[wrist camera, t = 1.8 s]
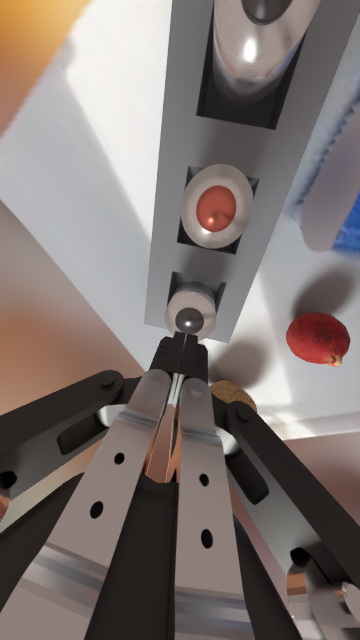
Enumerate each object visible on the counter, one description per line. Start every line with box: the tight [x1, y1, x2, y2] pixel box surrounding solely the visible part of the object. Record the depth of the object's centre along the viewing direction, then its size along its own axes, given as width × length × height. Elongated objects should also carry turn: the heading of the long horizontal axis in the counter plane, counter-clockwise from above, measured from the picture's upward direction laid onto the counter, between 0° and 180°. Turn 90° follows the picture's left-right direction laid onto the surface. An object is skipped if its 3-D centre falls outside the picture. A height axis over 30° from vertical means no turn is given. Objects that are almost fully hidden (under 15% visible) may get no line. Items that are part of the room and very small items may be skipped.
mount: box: [144, 0, 360, 343], centre depth 17 cm, size 10×24×6 cm, turn 170°
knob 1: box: [164, 282, 216, 341], centre depth 16 cm, size 4×4×4 cm
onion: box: [286, 312, 350, 367], centre depth 20 cm, size 6×6×8 cm
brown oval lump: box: [210, 380, 257, 413], centre depth 27 cm, size 9×9×10 cm
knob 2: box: [213, 0, 321, 112], centre depth 8 cm, size 4×4×4 cm
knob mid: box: [181, 164, 253, 248], centre depth 12 cm, size 4×4×4 cm
